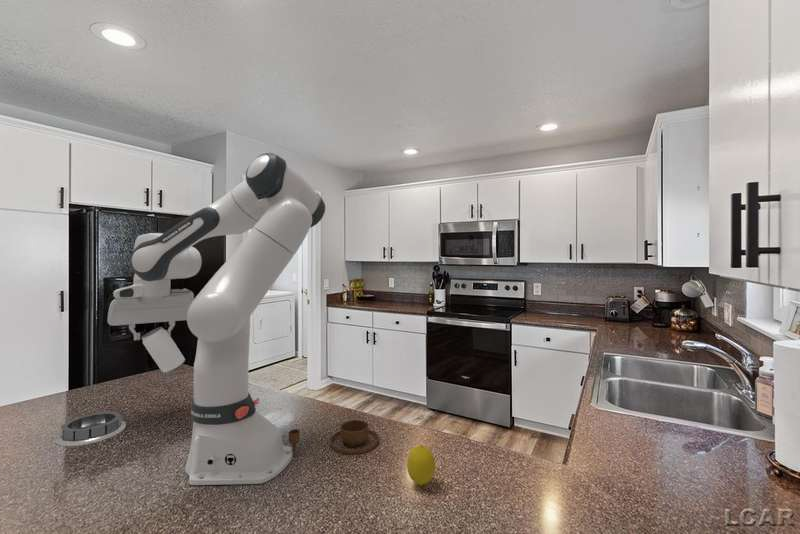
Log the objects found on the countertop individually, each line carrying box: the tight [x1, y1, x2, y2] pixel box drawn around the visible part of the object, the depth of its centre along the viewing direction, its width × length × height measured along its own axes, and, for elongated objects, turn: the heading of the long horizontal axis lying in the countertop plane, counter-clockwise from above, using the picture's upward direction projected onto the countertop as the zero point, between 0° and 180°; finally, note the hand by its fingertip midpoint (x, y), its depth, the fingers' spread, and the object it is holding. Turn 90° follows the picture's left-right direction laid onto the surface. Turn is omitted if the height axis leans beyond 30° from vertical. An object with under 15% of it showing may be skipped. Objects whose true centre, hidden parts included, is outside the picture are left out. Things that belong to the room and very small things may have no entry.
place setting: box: [288, 419, 380, 461], centre depth 92 cm, size 18×20×6 cm
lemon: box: [406, 444, 436, 486], centre depth 74 cm, size 6×6×8 cm
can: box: [140, 326, 186, 374], centre depth 107 cm, size 6×6×12 cm
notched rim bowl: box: [55, 411, 127, 447], centre depth 97 cm, size 14×14×3 cm
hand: (152, 338), depth 106 cm, fingers open, 6 cm apart
